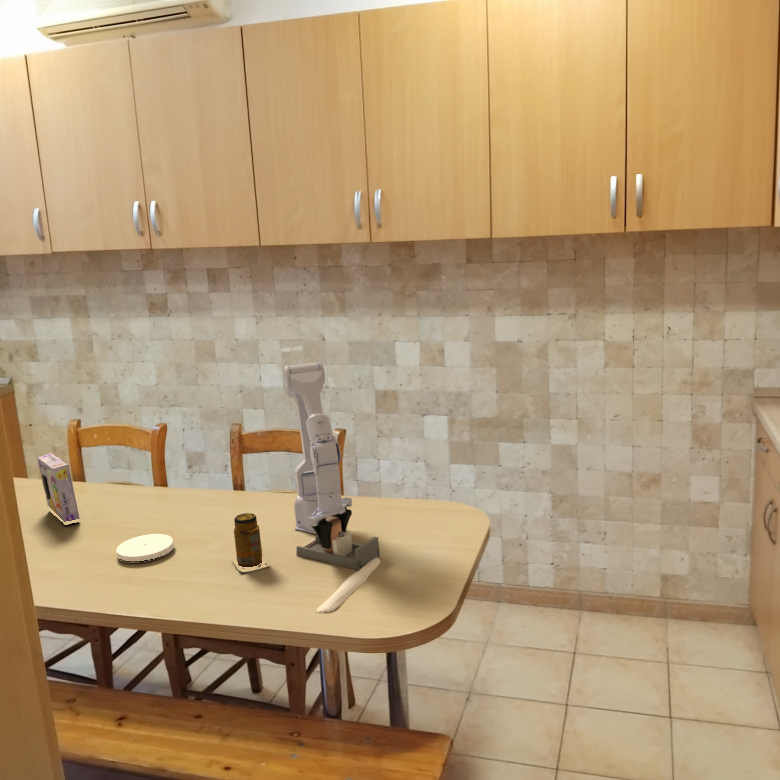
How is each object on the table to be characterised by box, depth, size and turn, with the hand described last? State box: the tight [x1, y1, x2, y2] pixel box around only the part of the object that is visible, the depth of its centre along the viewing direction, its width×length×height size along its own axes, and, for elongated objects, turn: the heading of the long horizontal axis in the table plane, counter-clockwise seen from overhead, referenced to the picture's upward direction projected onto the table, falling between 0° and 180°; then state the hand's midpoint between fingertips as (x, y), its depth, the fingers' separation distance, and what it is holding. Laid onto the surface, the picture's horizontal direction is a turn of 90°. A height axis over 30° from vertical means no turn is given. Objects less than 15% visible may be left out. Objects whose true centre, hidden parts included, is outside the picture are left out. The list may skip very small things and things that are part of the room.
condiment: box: [233, 512, 269, 567], centre depth 190 cm, size 7×8×12 cm
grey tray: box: [295, 534, 381, 571], centre depth 192 cm, size 19×8×5 cm, turn 56°
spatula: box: [316, 557, 381, 613], centre depth 177 cm, size 28×4×2 cm, turn 154°
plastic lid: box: [115, 533, 175, 562], centre depth 202 cm, size 14×14×2 cm
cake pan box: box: [37, 452, 81, 522], centre depth 231 cm, size 19×5×18 cm, turn 36°
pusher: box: [332, 530, 353, 556], centre depth 191 cm, size 1×6×6 cm, turn 146°
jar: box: [322, 517, 342, 554], centre depth 192 cm, size 5×5×9 cm
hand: (333, 543), depth 192 cm, fingers closed on jar, 5 cm apart
